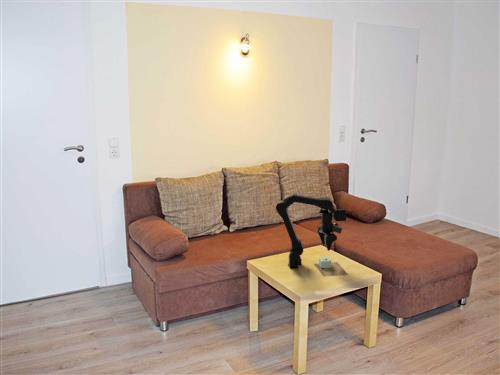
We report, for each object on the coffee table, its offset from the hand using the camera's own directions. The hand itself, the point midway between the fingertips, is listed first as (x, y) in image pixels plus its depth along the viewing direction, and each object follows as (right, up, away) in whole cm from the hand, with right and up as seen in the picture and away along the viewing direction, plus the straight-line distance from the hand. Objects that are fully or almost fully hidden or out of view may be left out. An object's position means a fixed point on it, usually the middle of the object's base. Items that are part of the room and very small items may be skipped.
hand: (326, 247), depth 249 cm
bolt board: (+2, -13, -2) cm, 13 cm away
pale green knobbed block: (-1, -10, +1) cm, 11 cm away
